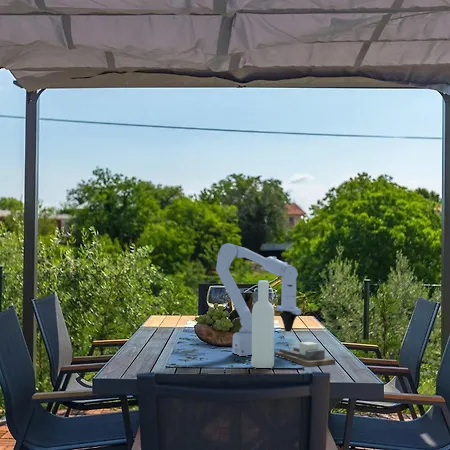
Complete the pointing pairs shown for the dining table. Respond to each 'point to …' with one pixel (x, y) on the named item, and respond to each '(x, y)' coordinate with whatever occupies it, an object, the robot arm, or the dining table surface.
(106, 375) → the dining table surface
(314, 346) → the pale grey cube
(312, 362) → the rail board
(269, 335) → the bottle
